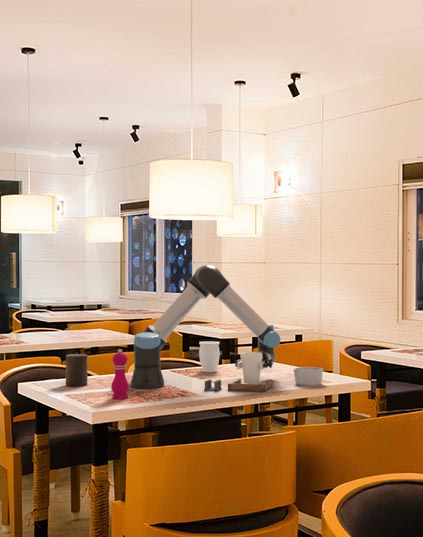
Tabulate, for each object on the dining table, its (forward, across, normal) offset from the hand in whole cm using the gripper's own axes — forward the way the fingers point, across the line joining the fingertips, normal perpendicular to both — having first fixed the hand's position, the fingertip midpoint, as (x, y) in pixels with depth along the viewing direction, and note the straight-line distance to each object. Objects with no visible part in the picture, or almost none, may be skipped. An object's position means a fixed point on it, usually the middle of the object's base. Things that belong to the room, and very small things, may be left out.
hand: (249, 366), depth 326 cm
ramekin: (-23, -22, -10) cm, 33 cm away
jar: (-51, +34, -10) cm, 62 cm away
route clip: (+4, +15, -10) cm, 19 cm away
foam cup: (-4, 0, -8) cm, 9 cm away
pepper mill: (+34, +45, -10) cm, 58 cm away
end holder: (-3, 0, -10) cm, 11 cm away
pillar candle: (+8, +78, -10) cm, 79 cm away
